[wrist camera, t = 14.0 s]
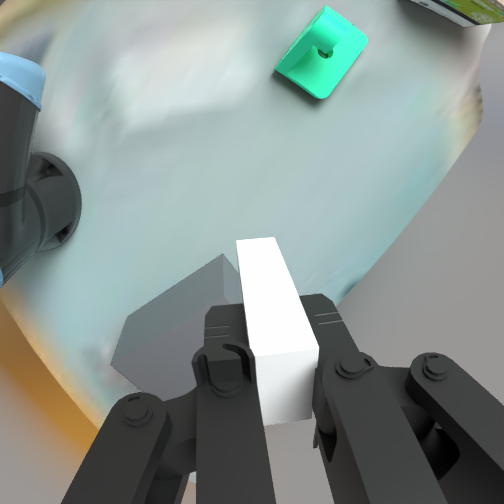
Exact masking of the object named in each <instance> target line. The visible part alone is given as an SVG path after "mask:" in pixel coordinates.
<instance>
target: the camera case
mask: <svg viewBox="0 0 504 504" xmlns="http://www.w3.org/2000/svg"><path fill="white" fill-rule="evenodd" d="M239 303H242V302H241V292H240V280H239V273H238V272H237V271H236V270H235V268H234V267H233V266H232V264H231V263H230V262H229V261H228V259H227V258H226V257H225V256H224V254H221V255H220V256H218V257H217V258H215V259H214V260H212V261H211V262H209V263H208V264H206V265H205V266H203V267H202V268H200V269H199V270H197V271H196V272H194V273H192V274H191V275H189V276H188V277H186V278H185V279H183V280H182V281H180V282H179V283H177V284H176V285H174V286H173V287H171V288H170V289H168V290H167V291H165V292H164V293H162V294H161V295H159V296H158V297H156V298H155V299H153V300H152V301H150V302H149V303H147V304H146V305H144V306H143V307H141V308H140V309H138V310H137V311H135V312H134V313H132V314H131V315H129V316H128V317H127V320H126V323H125V325H124V328H123V331H122V333H121V336H120V339H119V341H118V344H117V347H116V350H115V353H114V355H113V358H112V361H111V364H110V365H111V366H113V367H114V368H115V369H116V370H117V371H118V372H119V373H121V374H122V375H123V376H124V377H125V378H127V379H128V380H129V381H130V382H131V383H133V384H134V385H135V386H136V387H137V388H139V389H140V390H141V391H142V392H144V393H150V394H153V395H156V396H158V397H159V398H160V399H161V400H162V401H166V400H170V399H173V398H177V397H180V396H182V395H184V394H187V393H188V392H190V391H191V390H193V389H194V388H195V387H196V386H197V384H196V380H195V376H194V372H193V368H192V364H191V362H192V359H193V356H194V354H195V353H196V352H197V351H198V350H199V349H200V348H201V347H203V346H204V329H205V328H204V325H205V315H206V314H207V312H208V311H209V309H210V308H211V307H212V306H217V305H229V304H239Z"/></svg>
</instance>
